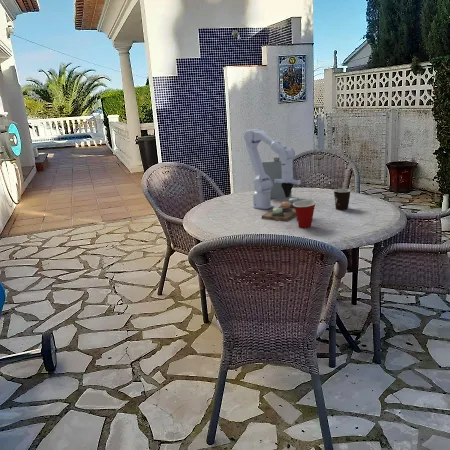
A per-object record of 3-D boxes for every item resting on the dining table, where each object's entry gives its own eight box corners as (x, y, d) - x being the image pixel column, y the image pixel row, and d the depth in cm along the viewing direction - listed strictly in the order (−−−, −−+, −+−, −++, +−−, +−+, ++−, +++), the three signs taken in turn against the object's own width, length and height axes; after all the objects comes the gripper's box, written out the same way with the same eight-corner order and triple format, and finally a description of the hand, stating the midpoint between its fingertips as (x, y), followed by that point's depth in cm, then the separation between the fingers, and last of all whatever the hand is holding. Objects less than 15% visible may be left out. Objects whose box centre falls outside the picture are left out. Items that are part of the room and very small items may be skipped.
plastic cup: (290, 224, 206) (290, 200, 203) (312, 222, 207) (312, 198, 204) (295, 231, 196) (295, 205, 193) (318, 229, 197) (318, 204, 193)
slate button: (287, 203, 232) (287, 199, 231) (291, 201, 235) (291, 197, 235) (295, 203, 229) (295, 200, 228) (299, 201, 233) (298, 198, 232)
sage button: (271, 213, 218) (271, 209, 217) (275, 210, 222) (275, 207, 221) (279, 214, 215) (279, 210, 215) (283, 211, 219) (283, 208, 218)
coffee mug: (350, 210, 223) (351, 192, 220) (333, 210, 225) (334, 192, 222) (349, 205, 234) (349, 187, 231) (333, 205, 236) (333, 187, 233)
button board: (261, 218, 220) (261, 213, 219) (285, 206, 241) (285, 201, 240) (285, 221, 212) (285, 216, 211) (308, 208, 233) (308, 204, 232)
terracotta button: (279, 207, 225) (279, 203, 224) (283, 204, 228) (283, 201, 228) (287, 207, 222) (287, 204, 221) (291, 205, 226) (291, 202, 225)
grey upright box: (291, 195, 264) (290, 155, 257) (291, 197, 260) (290, 156, 253) (263, 196, 267) (262, 156, 260) (263, 198, 263) (261, 157, 256)
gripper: (271, 172, 223) (271, 197, 227) (296, 173, 215) (296, 199, 219) (277, 170, 229) (278, 194, 232) (302, 171, 220) (302, 196, 224)
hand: (287, 196), depth 226 cm, fingers closed
